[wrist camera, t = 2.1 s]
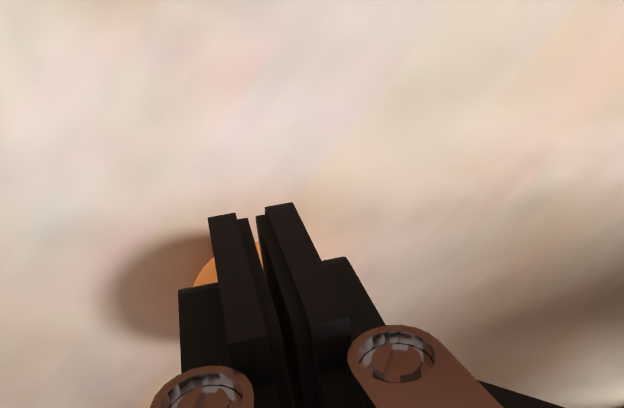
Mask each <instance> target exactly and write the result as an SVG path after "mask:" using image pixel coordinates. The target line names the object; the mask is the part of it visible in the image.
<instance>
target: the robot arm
mask: <svg viewBox="0 0 624 408" xmlns="http://www.w3.org/2000/svg"><path fill="white" fill-rule="evenodd" d="M208 223H209V229H210V236H211V242H212V248H213V254H214V260H215V267H216V273H217V279H218V282H215V283H210V284H205V285H200V286H195V287H190V288H185V289H180V290H178V302H179V325H180V348H181V371H182V374H180V375H178V376H176V377H175V378H173V379H172V380H170V381H169V382H168V383H166V384H165V385H164V386H163V387H162V388H161V389H160V390H159V392H158V393H157V394H156V395H155V397H154V399H153V401H152V404H151V406H150V408H564V407H561V406H558V405H555V404H552V403H548V402H545V401H542V400H539V399H536V398H533V397H529V396H526V395H523V394H520V393H517V392H514V391H510V390H507V389H504V388H501V387H498V386H495V385H491V384H488V383H485V382H482V381H479V380H476V379H475V378H474V377H473V376H472V375H471V373H470V372H469V371H468V370H467V369H466V368H465V367H464V366H463V365H462V364H461V363H460V362H459V361H458V360H457V359H456V358H455V357H454V356H453V355H452V354H451V353H450V352H449V351H448V350H447V349H446V348H445V347H444V346H443V345H442V344H441V343H440V341H439V340H437V339H436V338H435V337H433V336H432V335H431V334H429V333H428V332H425V331H423V330H420V329H418V328H415V327H410V326H404V325H385V323H384V322H383V320H382V318H381V316H380V315H379V313H378V311H377V309H376V308H375V306H374V304H373V303H372V301H371V299H370V297H369V296H368V294H367V292H366V290H365V289H364V287H363V285H362V283H361V282H360V280H359V278H358V277H357V275H356V273H355V271H354V270H353V268H352V266H351V264H350V263H349V261H348V260H347V258H346V257H339V258H334V259H329V260H324V261H321V259H320V257H319V255H318V253H317V251H316V249H315V247H314V245H313V243H312V241H311V239H310V237H309V235H308V233H307V230H306V228H305V226H304V224H303V222H302V220H301V218H300V216H299V214H298V212H297V210H296V208H295V206H294V204H293V203H292V202H291V203H285V204H280V205H274V206H269V207H265V215H260V216H256V224H257V231H258V238H259V244H260V251H261V258H262V264H263V267H262V264H261V261H260V258H259V254H258V251H257V248H256V244H255V241H254V238H253V235H252V231H251V228H250V225H249V221H248V218H243V219H238V220H237V217H236V214H235V213H230V214H225V215H219V216H214V217H208Z"/></svg>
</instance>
